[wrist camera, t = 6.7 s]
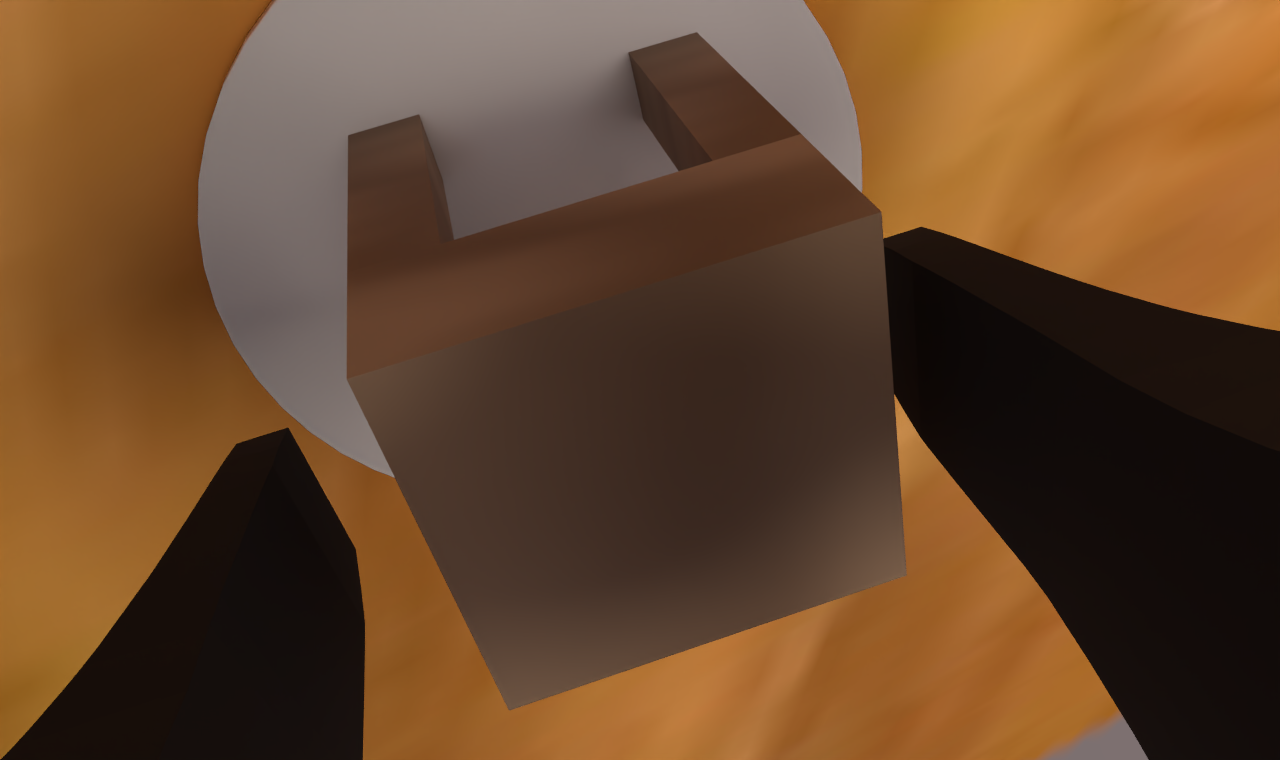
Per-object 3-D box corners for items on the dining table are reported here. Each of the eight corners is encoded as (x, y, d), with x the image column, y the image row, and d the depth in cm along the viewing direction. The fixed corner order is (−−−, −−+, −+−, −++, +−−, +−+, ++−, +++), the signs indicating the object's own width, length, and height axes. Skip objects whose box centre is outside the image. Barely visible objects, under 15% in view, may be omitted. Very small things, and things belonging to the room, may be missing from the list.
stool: (462, 413, 16) (509, 710, 12) (348, 135, 13) (345, 380, 9) (747, 323, 17) (906, 575, 12) (696, 32, 14) (881, 212, 9)
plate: (358, 544, 18) (358, 567, 18) (56, -4, 12) (44, 8, 12) (867, 378, 19) (881, 396, 18) (814, -217, 13) (832, -213, 12)
